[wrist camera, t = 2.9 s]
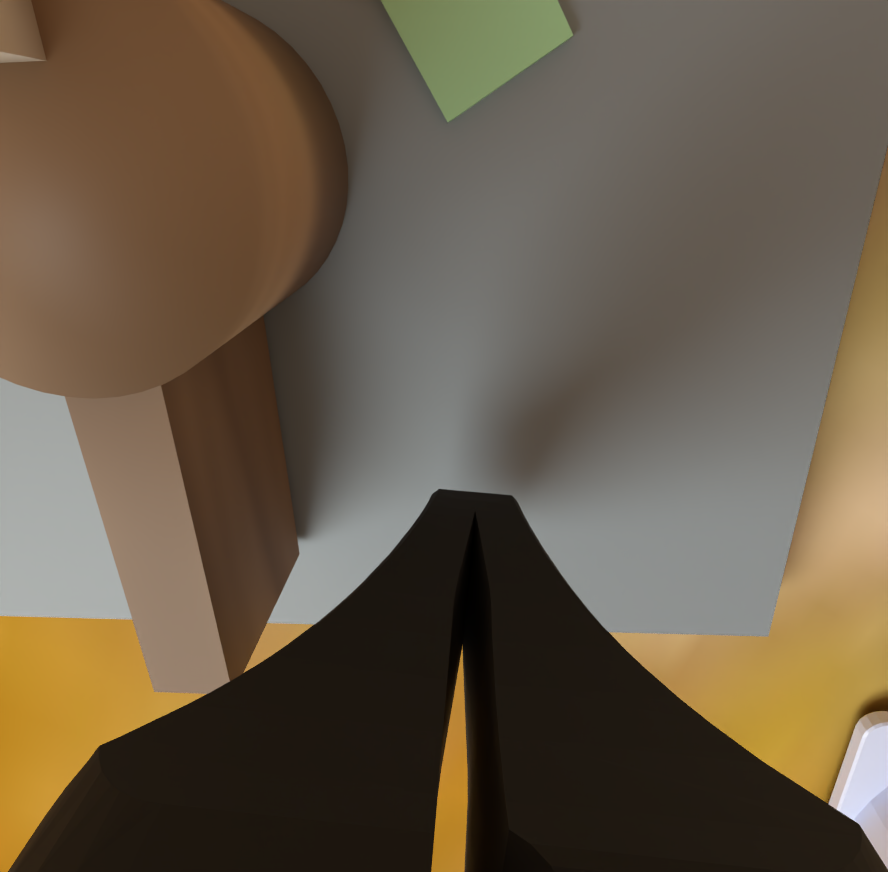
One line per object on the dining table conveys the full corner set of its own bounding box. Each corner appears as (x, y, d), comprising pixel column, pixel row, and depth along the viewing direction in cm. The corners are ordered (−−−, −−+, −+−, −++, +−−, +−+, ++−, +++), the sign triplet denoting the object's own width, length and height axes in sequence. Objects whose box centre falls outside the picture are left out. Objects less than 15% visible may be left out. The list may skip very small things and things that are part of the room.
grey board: (991, -531, 7) (1081, -653, 6) (746, 597, 14) (768, 636, 13) (-423, -377, 8) (-558, -454, 7) (-21, 580, 15) (-60, 614, 14)
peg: (310, -275, 7) (73, -820, 3) (380, 550, 12) (323, 756, 8) (-38, -244, 8) (-657, -702, 4) (167, 547, 13) (7, 742, 9)
